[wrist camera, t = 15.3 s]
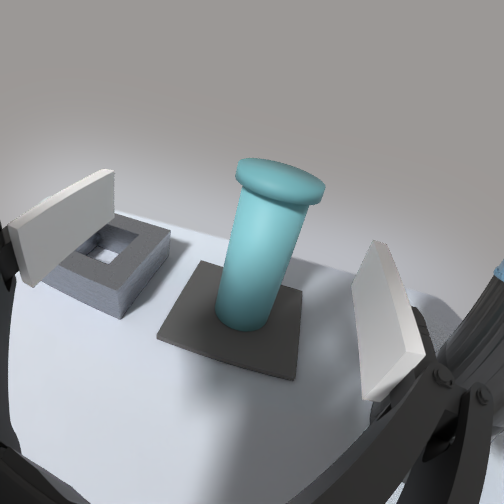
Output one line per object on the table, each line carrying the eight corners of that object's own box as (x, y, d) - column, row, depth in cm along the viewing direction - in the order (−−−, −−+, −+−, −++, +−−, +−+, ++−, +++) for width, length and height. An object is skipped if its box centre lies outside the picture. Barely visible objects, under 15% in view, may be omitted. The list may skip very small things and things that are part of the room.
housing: (168, 255, 38) (170, 230, 36) (120, 319, 27) (117, 291, 25) (93, 230, 38) (92, 206, 36) (36, 278, 27) (30, 251, 25)
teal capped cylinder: (277, 299, 35) (322, 175, 27) (270, 345, 28) (329, 200, 20) (217, 282, 35) (247, 153, 27) (198, 324, 28) (228, 170, 20)
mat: (300, 294, 38) (302, 291, 38) (293, 380, 26) (295, 377, 26) (200, 263, 38) (200, 260, 38) (156, 338, 26) (156, 334, 26)
